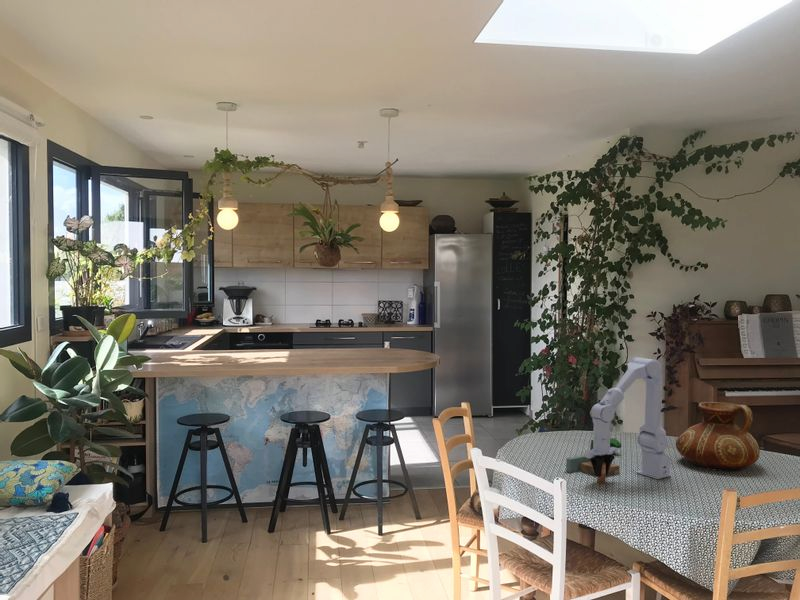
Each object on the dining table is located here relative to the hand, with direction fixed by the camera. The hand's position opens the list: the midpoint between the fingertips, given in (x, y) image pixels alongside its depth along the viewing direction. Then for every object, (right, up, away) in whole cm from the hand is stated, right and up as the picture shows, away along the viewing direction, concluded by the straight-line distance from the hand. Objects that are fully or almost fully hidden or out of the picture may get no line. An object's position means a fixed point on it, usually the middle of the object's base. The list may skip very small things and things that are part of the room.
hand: (601, 475), depth 235 cm
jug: (+53, -2, +24) cm, 58 cm away
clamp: (+14, -2, +39) cm, 41 cm away
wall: (0, -2, +18) cm, 18 cm away
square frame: (+3, -2, +12) cm, 13 cm away
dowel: (0, -2, 0) cm, 2 cm away
